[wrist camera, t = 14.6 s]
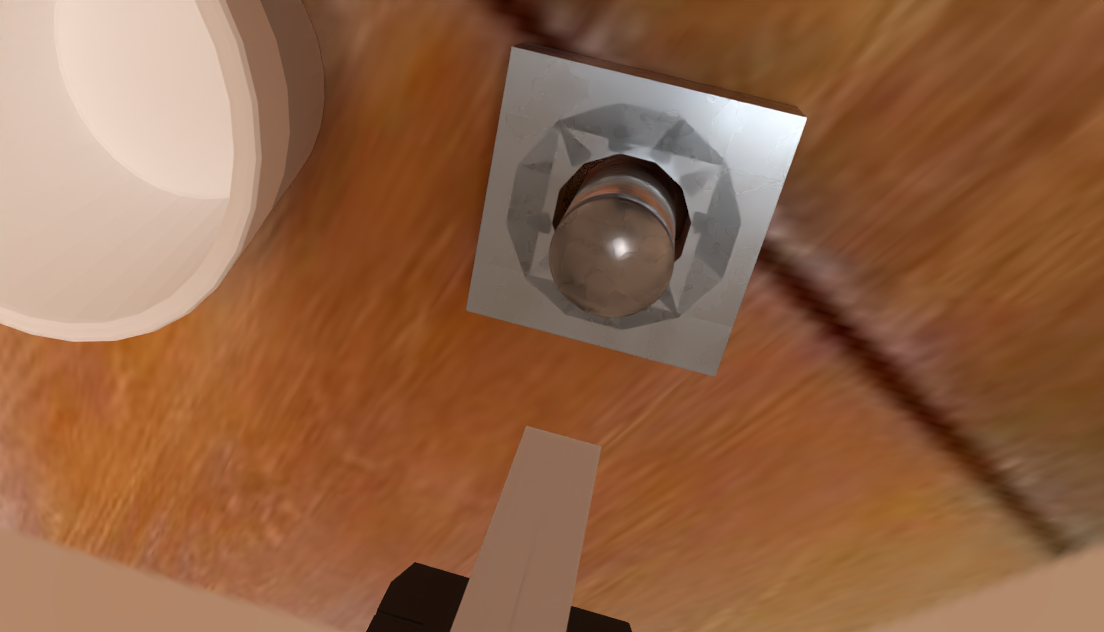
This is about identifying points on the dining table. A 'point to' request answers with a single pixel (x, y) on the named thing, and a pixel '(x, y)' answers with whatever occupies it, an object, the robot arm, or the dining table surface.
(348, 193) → the dining table surface
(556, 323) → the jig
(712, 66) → the dining table surface
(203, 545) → the dining table surface
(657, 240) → the cylindrical peg
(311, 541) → the dining table surface
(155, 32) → the bowl
